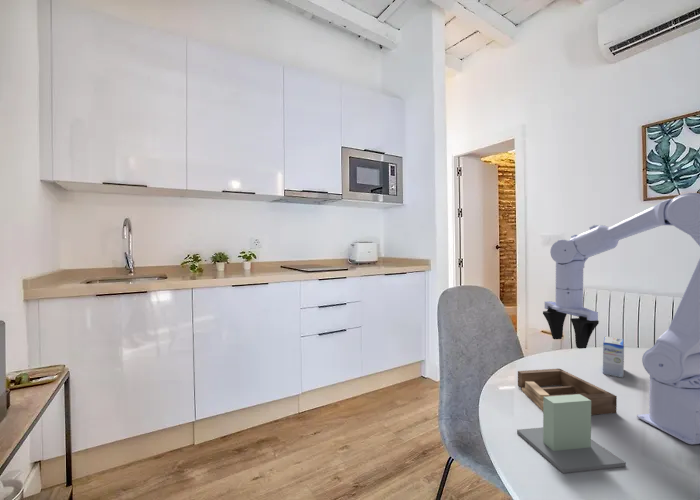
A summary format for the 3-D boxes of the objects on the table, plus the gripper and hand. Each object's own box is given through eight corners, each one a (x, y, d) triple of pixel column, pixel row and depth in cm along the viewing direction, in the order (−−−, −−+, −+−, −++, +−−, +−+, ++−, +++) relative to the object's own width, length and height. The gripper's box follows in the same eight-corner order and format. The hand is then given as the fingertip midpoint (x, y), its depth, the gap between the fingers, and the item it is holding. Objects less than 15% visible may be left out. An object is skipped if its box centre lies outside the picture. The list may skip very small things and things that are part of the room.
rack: (616, 412, 69) (616, 396, 69) (566, 417, 67) (566, 399, 67) (559, 382, 84) (559, 368, 84) (517, 385, 83) (517, 371, 83)
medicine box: (603, 365, 96) (604, 335, 96) (623, 369, 93) (624, 338, 93) (602, 374, 90) (602, 342, 89) (623, 378, 87) (624, 345, 87)
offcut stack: (557, 415, 69) (557, 401, 69) (545, 415, 69) (545, 401, 69) (532, 391, 80) (532, 379, 80) (521, 391, 80) (521, 379, 80)
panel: (590, 447, 56) (591, 400, 56) (553, 450, 55) (553, 403, 55) (579, 439, 59) (579, 394, 59) (543, 442, 58) (543, 396, 58)
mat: (625, 466, 52) (625, 462, 52) (562, 473, 51) (562, 469, 51) (570, 428, 63) (570, 425, 63) (517, 432, 62) (517, 429, 62)
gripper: (534, 285, 89) (533, 335, 89) (578, 293, 75) (578, 353, 75) (558, 284, 90) (557, 334, 90) (606, 292, 75) (605, 351, 76)
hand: (568, 343), depth 82 cm, fingers open, 7 cm apart
